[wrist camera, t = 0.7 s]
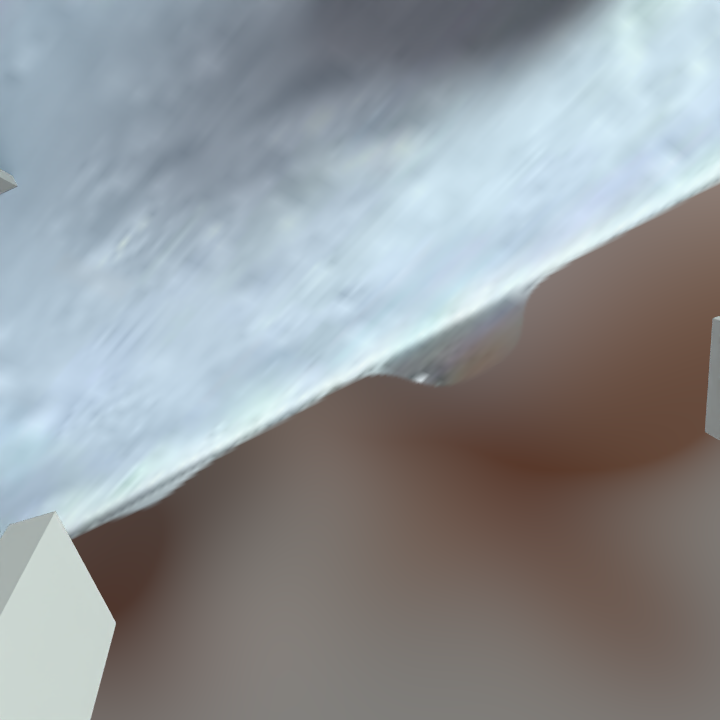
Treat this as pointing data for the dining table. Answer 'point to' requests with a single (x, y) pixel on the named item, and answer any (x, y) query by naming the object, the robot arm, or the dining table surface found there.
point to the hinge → (6, 181)
